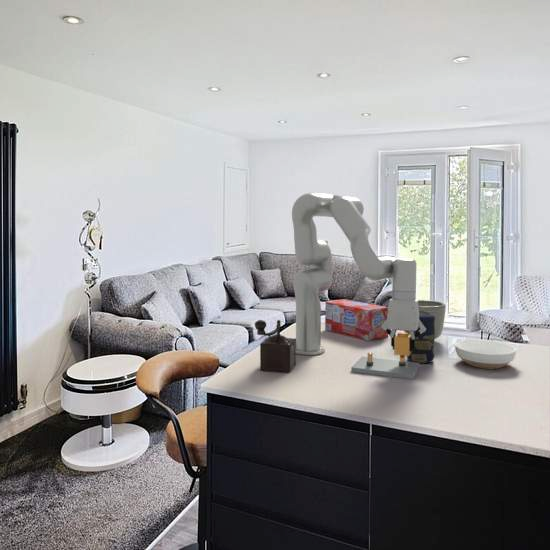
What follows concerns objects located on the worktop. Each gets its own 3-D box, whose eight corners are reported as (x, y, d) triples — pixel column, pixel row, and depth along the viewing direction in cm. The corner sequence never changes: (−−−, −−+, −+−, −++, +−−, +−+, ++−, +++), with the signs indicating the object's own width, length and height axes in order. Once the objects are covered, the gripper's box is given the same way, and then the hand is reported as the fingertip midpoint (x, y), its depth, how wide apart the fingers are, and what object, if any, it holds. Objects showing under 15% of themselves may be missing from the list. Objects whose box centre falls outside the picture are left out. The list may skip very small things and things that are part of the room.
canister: (435, 365, 166) (437, 314, 164) (407, 363, 168) (408, 313, 166) (432, 357, 175) (433, 309, 173) (405, 356, 177) (406, 308, 175)
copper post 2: (398, 370, 161) (398, 354, 160) (399, 368, 163) (399, 352, 162) (404, 370, 160) (405, 354, 159) (405, 369, 162) (406, 353, 161)
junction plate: (351, 371, 160) (351, 367, 159) (361, 360, 172) (361, 356, 172) (413, 379, 151) (413, 374, 151) (419, 367, 164) (419, 362, 164)
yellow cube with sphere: (394, 354, 160) (394, 334, 159) (397, 351, 164) (397, 331, 163) (409, 355, 158) (409, 335, 157) (411, 352, 162) (411, 332, 161)
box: (389, 337, 207) (390, 306, 205) (369, 342, 199) (369, 309, 197) (344, 326, 228) (344, 298, 227) (323, 330, 220) (324, 301, 219)
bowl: (514, 359, 172) (515, 343, 172) (516, 375, 155) (517, 357, 154) (456, 353, 180) (457, 337, 180) (451, 368, 163) (452, 350, 162)
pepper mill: (266, 362, 171) (265, 312, 169) (296, 364, 168) (296, 313, 166) (253, 375, 156) (252, 321, 154) (286, 378, 153) (285, 322, 151)
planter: (409, 334, 211) (410, 298, 209) (449, 339, 201) (451, 302, 199) (394, 342, 197) (395, 304, 195) (436, 348, 187) (438, 308, 185)
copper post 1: (365, 369, 162) (366, 353, 161) (367, 367, 164) (367, 352, 163) (372, 370, 161) (372, 354, 160) (373, 368, 163) (374, 352, 162)
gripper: (375, 295, 159) (374, 349, 161) (429, 298, 152) (427, 355, 154) (380, 292, 166) (379, 344, 168) (432, 295, 159) (430, 349, 161)
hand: (402, 348), depth 161 cm, fingers closed on yellow cube with sphere, 4 cm apart
